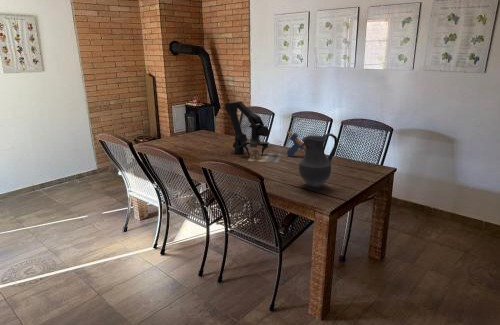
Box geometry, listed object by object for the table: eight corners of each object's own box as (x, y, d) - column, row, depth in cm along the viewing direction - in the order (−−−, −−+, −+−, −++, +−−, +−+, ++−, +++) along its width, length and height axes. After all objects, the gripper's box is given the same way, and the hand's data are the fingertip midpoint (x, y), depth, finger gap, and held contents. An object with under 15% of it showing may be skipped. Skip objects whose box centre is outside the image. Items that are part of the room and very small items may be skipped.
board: (247, 162, 235) (247, 157, 234) (251, 157, 248) (251, 152, 247) (277, 164, 231) (278, 159, 229) (280, 158, 244) (280, 153, 243)
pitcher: (294, 183, 198) (296, 131, 189) (327, 180, 202) (330, 130, 193) (305, 194, 181) (308, 139, 172) (341, 191, 186) (345, 137, 177)
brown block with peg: (250, 159, 236) (250, 152, 234) (253, 155, 245) (253, 149, 243) (256, 160, 235) (256, 153, 233) (259, 156, 244) (259, 149, 243)
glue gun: (309, 172, 247) (322, 157, 241) (275, 146, 246) (288, 130, 240) (310, 169, 252) (323, 154, 246) (276, 143, 252) (289, 128, 245)
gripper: (239, 136, 231) (239, 158, 235) (267, 137, 227) (266, 160, 232) (243, 132, 241) (243, 154, 246) (269, 133, 237) (269, 155, 242)
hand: (255, 156), depth 241 cm, fingers open, 9 cm apart
